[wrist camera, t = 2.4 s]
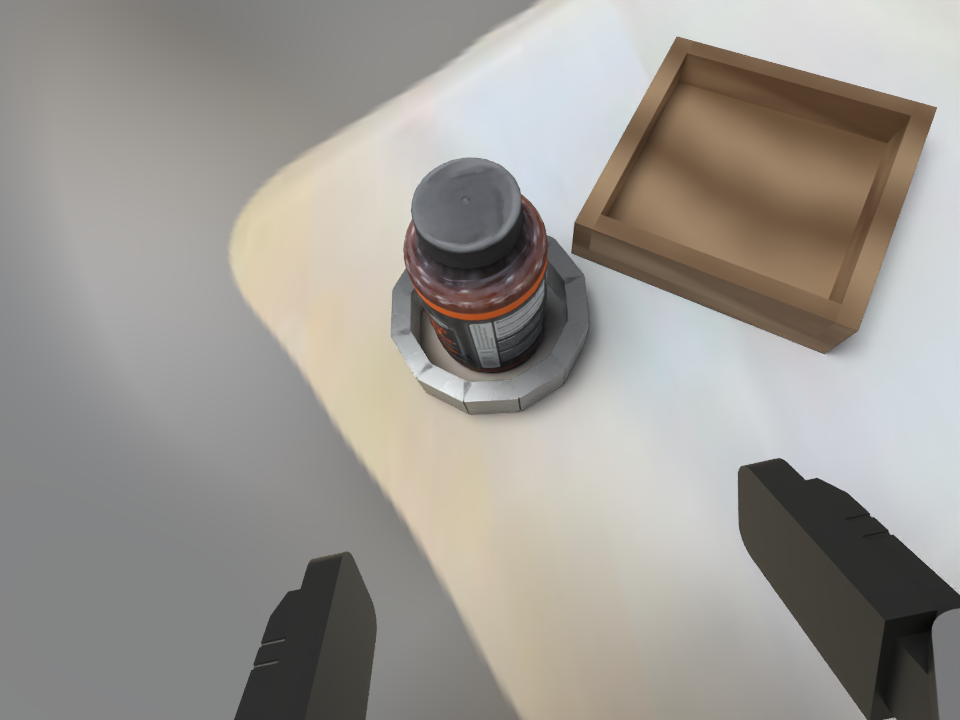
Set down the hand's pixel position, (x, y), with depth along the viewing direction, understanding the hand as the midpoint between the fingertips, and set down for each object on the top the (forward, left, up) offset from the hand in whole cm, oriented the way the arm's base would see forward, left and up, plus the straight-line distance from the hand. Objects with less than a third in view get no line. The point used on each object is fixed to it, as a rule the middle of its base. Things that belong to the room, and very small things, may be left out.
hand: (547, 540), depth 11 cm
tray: (-22, +1, -15) cm, 27 cm away
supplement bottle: (-9, -8, -15) cm, 19 cm away
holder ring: (-9, -8, -15) cm, 19 cm away
